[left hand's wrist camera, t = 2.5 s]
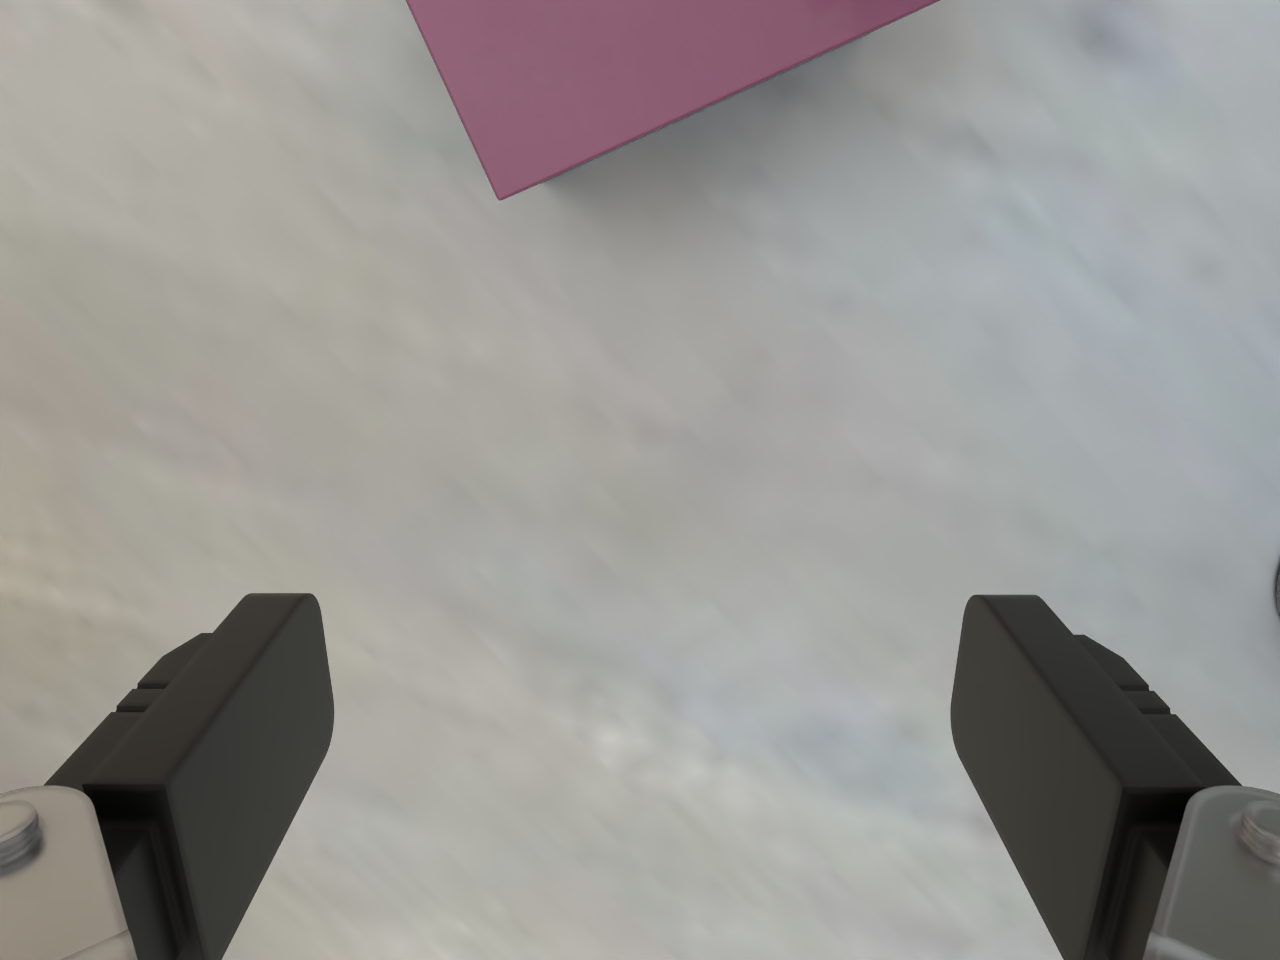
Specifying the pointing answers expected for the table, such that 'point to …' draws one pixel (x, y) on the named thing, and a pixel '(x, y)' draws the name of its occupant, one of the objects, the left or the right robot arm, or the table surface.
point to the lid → (614, 67)
